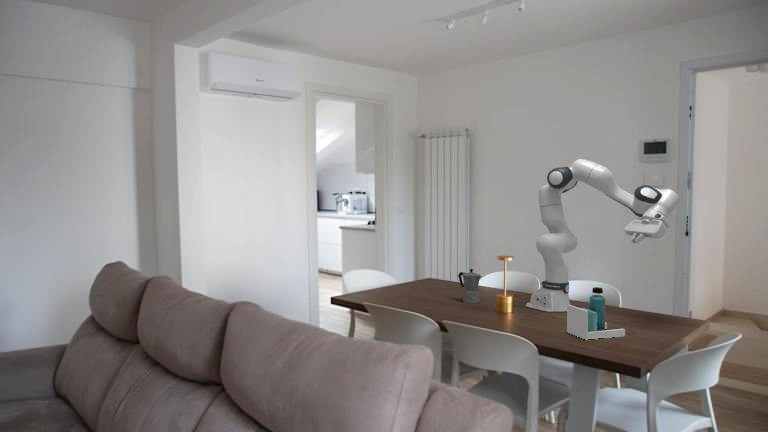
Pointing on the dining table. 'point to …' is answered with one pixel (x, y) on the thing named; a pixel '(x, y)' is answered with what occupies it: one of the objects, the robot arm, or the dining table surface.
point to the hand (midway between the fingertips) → (634, 242)
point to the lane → (579, 325)
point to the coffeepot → (470, 286)
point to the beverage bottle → (598, 307)
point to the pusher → (591, 320)
